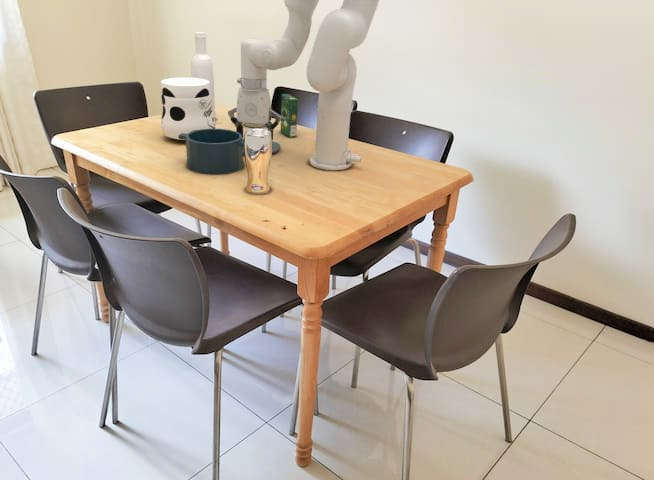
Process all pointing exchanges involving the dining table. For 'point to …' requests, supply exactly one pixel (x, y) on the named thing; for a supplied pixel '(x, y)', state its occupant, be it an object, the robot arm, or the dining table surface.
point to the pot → (214, 150)
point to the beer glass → (258, 159)
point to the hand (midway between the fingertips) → (254, 140)
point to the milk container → (185, 106)
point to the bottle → (203, 65)
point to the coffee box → (289, 115)
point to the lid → (274, 147)
